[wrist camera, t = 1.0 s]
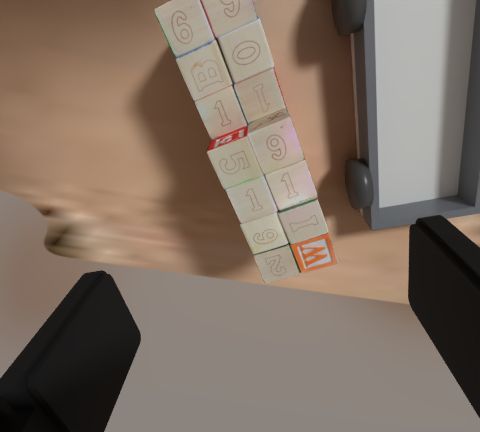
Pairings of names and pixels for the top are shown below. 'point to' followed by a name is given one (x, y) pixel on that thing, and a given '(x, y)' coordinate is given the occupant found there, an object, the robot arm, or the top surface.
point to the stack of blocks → (249, 132)
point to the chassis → (413, 108)
